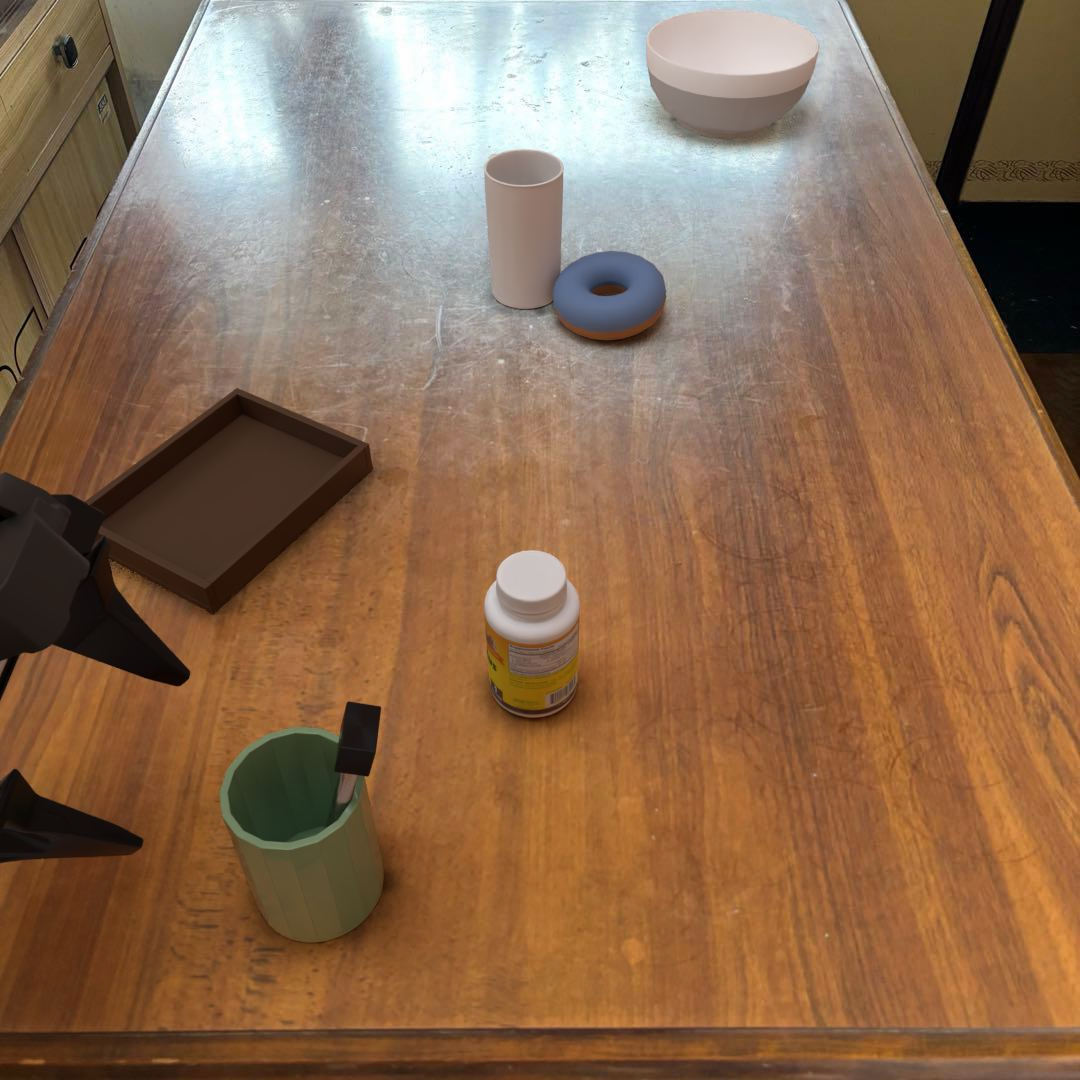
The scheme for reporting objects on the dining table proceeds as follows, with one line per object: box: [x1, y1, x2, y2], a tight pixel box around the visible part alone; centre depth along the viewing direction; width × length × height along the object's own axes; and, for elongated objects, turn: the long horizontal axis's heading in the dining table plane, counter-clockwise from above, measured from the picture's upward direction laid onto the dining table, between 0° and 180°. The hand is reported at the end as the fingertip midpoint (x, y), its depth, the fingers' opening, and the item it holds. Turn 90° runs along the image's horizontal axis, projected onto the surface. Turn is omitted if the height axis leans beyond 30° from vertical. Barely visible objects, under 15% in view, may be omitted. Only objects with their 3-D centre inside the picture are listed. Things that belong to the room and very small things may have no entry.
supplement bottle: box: [483, 549, 581, 719], centre depth 65 cm, size 6×6×10 cm
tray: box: [84, 387, 374, 615], centre depth 80 cm, size 17×13×2 cm
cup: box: [218, 726, 385, 943], centre depth 56 cm, size 7×7×10 cm
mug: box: [483, 148, 565, 310], centre depth 98 cm, size 10×7×12 cm, turn 30°
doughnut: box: [552, 250, 667, 341], centre depth 96 cm, size 10×10×5 cm
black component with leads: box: [325, 701, 382, 829], centre depth 54 cm, size 4×3×14 cm, turn 90°
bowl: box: [645, 9, 820, 140], centre depth 124 cm, size 19×19×9 cm
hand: (163, 758), depth 51 cm, fingers open, 9 cm apart
